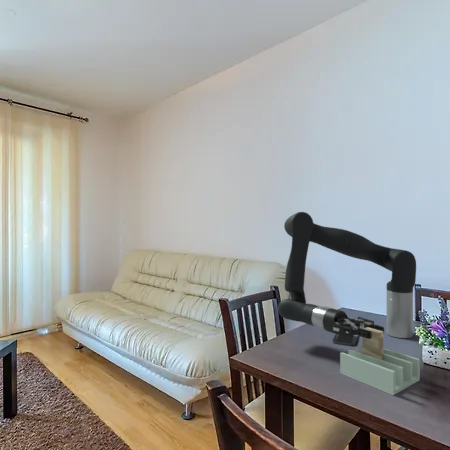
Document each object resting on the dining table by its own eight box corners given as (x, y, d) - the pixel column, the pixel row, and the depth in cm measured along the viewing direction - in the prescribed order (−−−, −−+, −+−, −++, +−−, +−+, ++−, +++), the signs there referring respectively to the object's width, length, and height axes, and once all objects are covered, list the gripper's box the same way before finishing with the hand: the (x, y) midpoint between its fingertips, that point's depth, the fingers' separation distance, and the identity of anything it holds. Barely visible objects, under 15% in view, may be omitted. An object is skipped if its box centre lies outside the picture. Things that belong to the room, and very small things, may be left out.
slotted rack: (367, 361, 110) (367, 342, 110) (419, 380, 97) (419, 359, 97) (340, 373, 102) (340, 352, 102) (393, 395, 89) (393, 372, 89)
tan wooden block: (367, 366, 104) (367, 327, 104) (383, 372, 100) (383, 331, 100) (362, 369, 103) (362, 328, 102) (378, 375, 99) (378, 333, 98)
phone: (332, 341, 127) (338, 329, 140) (332, 344, 127) (338, 331, 140) (355, 344, 123) (358, 331, 137) (355, 347, 123) (358, 334, 137)
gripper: (314, 311, 109) (362, 324, 96) (342, 304, 118) (390, 315, 104) (314, 335, 110) (362, 351, 96) (342, 326, 118) (390, 340, 104)
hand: (377, 333), depth 100 cm, fingers open, 6 cm apart
